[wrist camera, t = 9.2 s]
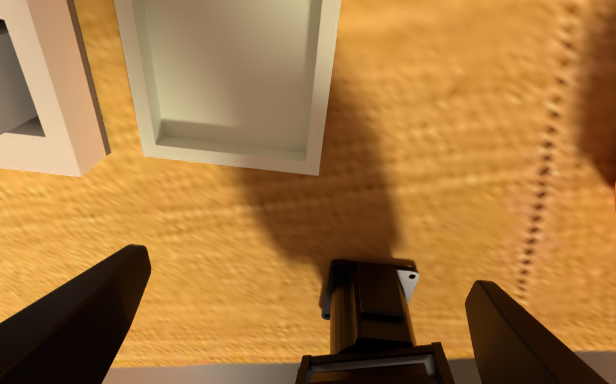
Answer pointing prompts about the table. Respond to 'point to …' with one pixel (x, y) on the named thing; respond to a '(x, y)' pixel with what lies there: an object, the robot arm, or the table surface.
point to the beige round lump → (615, 196)
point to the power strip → (53, 92)
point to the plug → (12, 87)
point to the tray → (231, 79)
